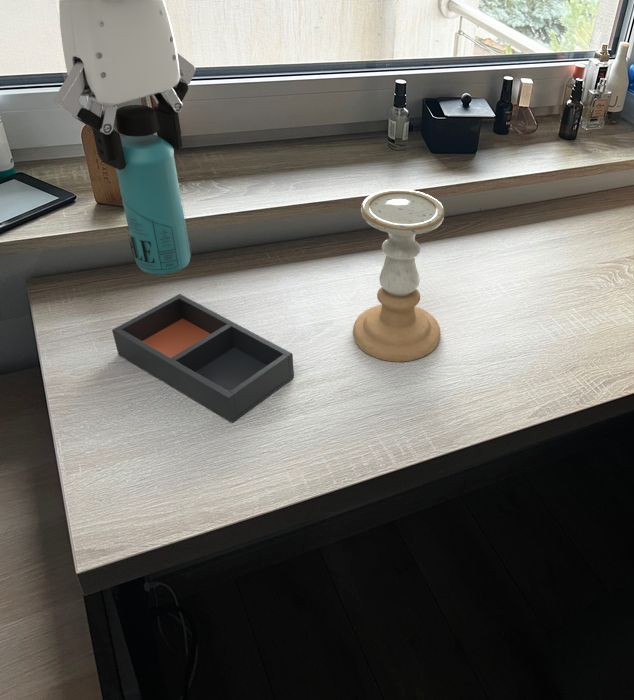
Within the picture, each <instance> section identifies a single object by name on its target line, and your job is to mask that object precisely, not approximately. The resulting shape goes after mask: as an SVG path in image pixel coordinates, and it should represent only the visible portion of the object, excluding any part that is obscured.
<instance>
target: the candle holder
mask: <svg viewBox="0 0 634 700" xmlns="http://www.w3.org/2000/svg"><path fill="white" fill-rule="evenodd" d="M360 212H361V213H360V214H361V216H362V218H363V221H364V222H366V223H367V224H368V225H369V226H371V227H372V228H374V229H376V230H379V231H380V232H384V233H387V234H388V238H386V239H385V240H384V241H383V242H382V244H381V250H382V253H383V254H384V255H385V258H384V261H383V262H384V263H383V265H382V268H381V269H380V272H379V275H378V282H379V285H380V288H379V289H378V291H377V292H376V298H377V301H378V302H379V304H378V305H377V304H376V305H375V306H372V307H370V308H368V309H365V310H364V311H363V312H361V313H360V314H359V315H358V316H357V318H356V319H355V321H354V324H353V328H352V336H353V339H354V342H355V344H356V345H357V346H358V348H359V349H361V350H362V351H363V352H364V353H366V354H367V355H369V356H371V357H373V358H376V359H379V360H382V361H386V362H387V361H388V362H397V363H399V362H411V361H415V360H419V359H422V358H424V357H425V356H427V355H429V354H431V353H432V352H433V351H434V350H435V349H436V348H437V346H438V344H439V343H440V339H441V328H440V324H439V323H438V321H437V319H436V318H435V317H434V316H433V315H432V314H431V313H429V312H428V311H427V310H425V309H422V308H421V307H418V306H417V305H418V304H419V303H420V301H421V294H420V291H419V290H418V288H419V286H420V284H421V276H420V273H419V269H418V266H417V260H416V257H417V256H419V254H420V253H421V245H420V244H419V242H418V241H417V240H416V235H421V234H426V233H429V232H431V231H434V230H436V229H437V228H438V227H439V226H441V225H442V223H443V221H444V219H445V208H444V206H443V205H442V203H441V202H440V201H439V199H436V198H434V197H433V196H432V195H429V194H427V193H424V192H421V191H416V190H413V189H402V188H401V189H399V188H397V189H396V188H395V189H394V188H393V189H384V190H379V191H377V192H374V193H372V194H370V195H368V196H367V197H366V198H365V199H364V200H363V201H362V203H361V207H360Z"/></svg>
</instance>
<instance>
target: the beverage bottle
mask: <svg viewBox="0 0 634 700" xmlns="http://www.w3.org/2000/svg"><path fill="white" fill-rule="evenodd" d="M115 122H116V123H115V124H116V125H115V126H116V132H118V133H119V134H121V135H123V136H124V137H122V138H121V143H122V148H123V153H124V157H125V162H126V167H125V169H122V170H118V169H116V168H115V172H116V176H117V177H116V178H117V183H118V185H117V187H118V188H117V189H118V191H119V192H118V193H119V194H120V197H119V199H120V200H121V201H122V206H123V211H124V214H125V220H126V223H127V231H128V237H129V238H128V239H129V241H130V242H129V244H130V249H131V252H132V257H133V259H134V260H133V261H134V263H135V265H137V267H138V268H139V269H140V270H141V271H143V272H144V273H148V274H153V275H168V274H173V273H176V272H179V271H181V270H183V269H185V268H186V267H187V266H189V263H190V262H191V261H190V260H191V257H192V253H191V251H192V248H191V243H190V240H189V239H190V238H189V234H188V233H189V231H188V227H187V221H186V219H187V218H186V216H185V211H184V202H183V200H182V197H181V192H180V185H179V179H178V173H177V167H176V160H175V151H174V148H173V147H172V146H171V145H170V144H169V143H168V142H166V141H165V140H163V139H162V138H160V137H159V136H157V132H158V131H159V123H158V121H157V117H156V113H155V111H154V107H151V106H148V105H143V104H130V105H128V104H127V105H124V106H121V107H119V108H117V111H116V116H115Z"/></svg>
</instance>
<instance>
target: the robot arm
mask: <svg viewBox="0 0 634 700" xmlns="http://www.w3.org/2000/svg"><path fill="white" fill-rule="evenodd" d="M58 1H59V2H58V3H59V4H58V8H59V9H58V11H59V28H60V37H61V44H62V52H63V57H64V63H65V69H66V74H67V77H66V78H65V80H64V82H63V83H62V85H61V86H60V88H59V89H58V91H57V93H56V94H55V96H54V98H53V100H54V104H55V105H56V106H58V107H59V108H61V109H62V110H63V111H65V112H66V113H68V114H69V115H71V116H72V117H73V118H75V119H76V120H78V121H80V122H81V123H82V124H83V125H85V126H87V127H88V128H90V129H91V130H92V134H93V139H94V142H95V147H96V152H97V155H98V157H99V159H100V160H101V162H102V163H103V164H106V165H108V166H110V167H112V168H114V169H115V170H116V169H118V170H122V169H125V167H126V162H125V157H124V153H123V148H122V143H121V139H122V138H121V135H120V133H119V132H118V131H117V130H114V126H115V122H116V111H117V109H118V105H121V104H125V103H128V102H129V103H130V102H132V101H136V100H139V99H144V98H147V97H149V96H152V98H153V99H154V101H155V103H156V104H157V105H155V106H153V109H154V111H155V113H156V117H157V121H158V123H159V131H158V132H156V136H159V137H160V138H162V139H163V140H165V141H166V142H168V143H169V144H170V145H171V146H172V147H173V149H175V150H180V149H183V142H182V130H181V123H180V117H179V113H180V112H182V110H183V107H184V105H183V101H184V98H185V97H186V95H187V93H188V91H189V85H190V83H191V82H192V80H193V78H194V76H195V73H196V67H195V65H193V64H192V63H191V62H189V61H188V60H187V59H186V58H184V57H183V56H182V55H181V54H180V53H178V51H177V45H176V40H175V36H174V32H173V27H172V23H171V20H170V19H171V18H170V16H169V12H168V9H167V6H166V2H165V0H58ZM80 97H88V98H87V104H86V107H85V106H84V105H82V104H81V103H80Z"/></svg>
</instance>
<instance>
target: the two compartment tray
mask: <svg viewBox="0 0 634 700" xmlns="http://www.w3.org/2000/svg"><path fill="white" fill-rule="evenodd" d="M111 332H112V335H113V339H114V343H115V346H116V351H117V354H118V356H119V357H121V358H123V359H124V360H126V361H127V362H130V363H131V364H133V365H134V366H136V367H138V368H140V369H141V370H143V371H145V372H146V373H148V374H149V375H151V376H153V377H154V378H156V379H157V380H159V381H161V382H163V383H164V384H166V385H168V386H170V387H171V388H173V389H175V390H176V391H178V392H179V393H181V394H183V395H185V396H186V397H188V398H189V399H191V400H192V401H194V402H196V403H198V404H199V405H201V406H202V407H204V408H206V409H207V410H209V411H211V412H212V413H214V414H215V415H218V416H219V417H221V418H222V419H224V420H226V421H228V422H230V423H231V424H233V423H235V422H236V421H237V420H239V419H240V418H242V417H243V416H244V415H246V414H247V413H249V411H251V410H253V409H254V408H255V407H257V406H258V405H259V404H261V403H262V402H263V401H265V400H266V399H267V398H269V397H270V396H272V395H273V394H274V393H276V392H277V391H279V390H280V389H281V388H283V387H284V386H285V385H287V384H288V383H289V382H291V381H292V380H293V379H294V378H295V372H294V371H295V369H294V356H293V353H292V352H290V351H289V350H287V349H285V348H283V347H281V346H280V345H278V344H275V343H273V342H272V341H270V340H268V339H266V338H264V337H262V336H260V335H258V334H257V333H256V332H253V331H251V330H249V329H247V328H245V327H243V326H241V325H239V324H238V323H236V322H234V321H232V320H230V319H228V318H227V317H225V316H223V315H220V314H219V313H217V312H215V311H213V310H211V309H210V308H207V307H206V306H204V305H202V304H200V303H198V302H196V301H195V300H193V299H191V298H188V297H187V296H185V295H183V294H181V293H178V294H176V295H174V296H173V297H171V298H169V299H167V300H165V301H163V302H161V303H160V304H158V305H156V306H154V307H152V308H151V309H148V310H146V311H145V312H143V313H141V314H139V315H137V316H135V317H133V318H131V319H130V320H127V321H126V322H124V323H122V324H120V325H118V326H117V327H115V328H113V329H111Z"/></svg>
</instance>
